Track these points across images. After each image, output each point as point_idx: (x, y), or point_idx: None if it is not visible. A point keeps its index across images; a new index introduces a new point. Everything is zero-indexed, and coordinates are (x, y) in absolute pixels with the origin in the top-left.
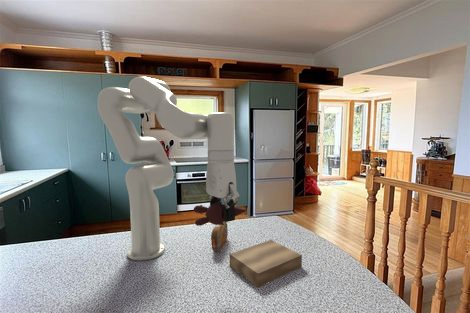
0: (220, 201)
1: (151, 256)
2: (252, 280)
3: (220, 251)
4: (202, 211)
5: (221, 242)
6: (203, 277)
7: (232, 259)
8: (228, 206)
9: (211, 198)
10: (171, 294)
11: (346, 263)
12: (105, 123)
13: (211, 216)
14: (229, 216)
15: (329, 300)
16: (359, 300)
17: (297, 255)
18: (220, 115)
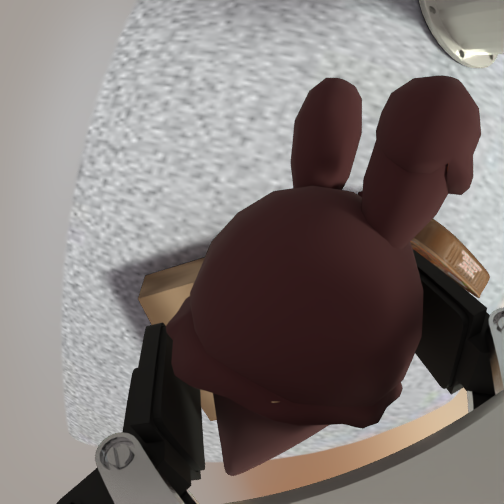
0: (357, 426)
1: (425, 8)
2: (168, 272)
3: None
4: (370, 158)
5: (418, 246)
6: (253, 125)
7: None
8: (100, 458)
9: (493, 346)
10: (194, 16)
11: None
12: None
13: (230, 234)
14: (134, 382)
15: (83, 381)
16: (84, 413)
17: (211, 414)
18: None
